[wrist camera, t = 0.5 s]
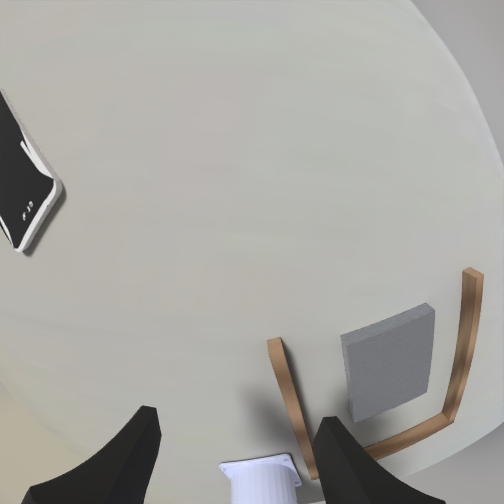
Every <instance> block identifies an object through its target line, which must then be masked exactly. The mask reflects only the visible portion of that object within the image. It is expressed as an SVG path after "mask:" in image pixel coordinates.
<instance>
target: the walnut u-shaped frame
mask: <svg viewBox="0 0 504 504" xmlns="http://www.w3.org/2000/svg"><path fill="white" fill-rule="evenodd" d="M483 279H484V274H482V273H480V272H478V271H476V270H474V269H472V268H470V267H469V268H467V269H465V270H463V285H462V303H461V315H460V324H459V333H458V340H457V347H456V353H455V359H454V364H453V369H452V374H451V379H450V383H449V388H448V392H447V396H446V400H445V403H444V407H443V411H442V413H440V414H438V415H436V416H434V417H433V418H431V419H429V420H427V421H425V422H423V423H421V424H419V425H417V426H415V427H413V428H411V429H409V430H407V431H404V432H402V433H400V434H398V435H396V436H393V437H391V438H389V439H386V440H384V441H381V442H379V443H376V444H374V445H371V446H368V447H366V448H363V449H364V450H365V451H366V452H367V453H368V454H369V455H370V456H371V457H372V458H373V459H374V460H375V461H376V460H379V459H381V458H384V457H386V456H389V455H391V454H393V453H396V452H398V451H400V450H402V449H404V448H407V447H409V446H411V445H413V444H415V443H417V442H419V441H421V440H423V439H425V438H427V437H429V436H431V435H433V434H434V433H436V432H438V431H440V430H442V429H443V428H445V427H447V426H448V425H450V424H452V423H453V422H454V420H455V417H456V414H457V411H458V408H459V405H460V402H461V399H462V396H463V392H464V389H465V385H466V382H467V378H468V374H469V370H470V366H471V362H472V358H473V353H474V348H475V343H476V338H477V332H478V326H479V319H480V311H481V303H482V293H483ZM267 344H268V352H269V357H270V360H271V363H272V366H273V369H274V372H275V375H276V378H277V381H278V384H279V387H280V390H281V393H282V396H283V399H284V402H285V405H286V408H287V411H288V414H289V417H290V420H291V423H292V426H293V429H294V431H295V434H296V437H297V440H298V443H299V446H300V449H301V452H302V454H303V457H304V460H305V463H306V466H307V469H308V471H309V474H310V477H311V480H316V479H320V478H319V475H318V471H317V467H316V463H315V457H314V453H313V449H312V446H311V442H310V439H309V435H308V432H307V428H306V425H305V421H304V418H303V414H302V411H301V407H300V404H299V401H298V397H297V394H296V390H295V387H294V383H293V380H292V376H291V373H290V369H289V366H288V362H287V359H286V356H285V352H284V349H283V345H282V342H281V338H280V337H279V338H275V339H271V340H267Z"/></svg>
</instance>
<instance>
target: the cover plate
mask: <svg viewBox="0 0 504 504" xmlns="http://www.w3.org/2000/svg"><path fill="white" fill-rule="evenodd" d="M434 322H435V310H434V309H433V308H432V307H431V306H429V305H428V304H427V303H424V304H421V305H419V306H417V307H414V308H412V309H410V310H407V311H405V312H402V313H400V314H398V315H395V316H393V317H390V318H387V319H385V320H382V321H380V322H377V323H374V324H372V325H369V326H366V327H363V328H361V329H358V330H355V331H352V332H349V333H346V334H343V335H341V342H342V349H343V356H344V363H345V371H346V379H347V388H348V397H349V407H350V414H351V416H352V419H353V421H354V423H356V422H359V421H362V420H365V419H367V418H370V417H373V416H375V415H378V414H380V413H383V412H385V411H387V410H390V409H392V408H394V407H397V406H399V405H401V404H404V403H406V402H408V401H410V400H412V399H414V398H416V397H418V396H420V395H422V394H424V393H426V392H427V387H428V381H429V374H430V367H431V359H432V349H433V338H434Z"/></svg>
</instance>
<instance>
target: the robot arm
mask: <svg viewBox="0 0 504 504" xmlns="http://www.w3.org/2000/svg"><path fill="white" fill-rule="evenodd" d="M160 441H161V430H160V425H159V420H158V415H157V410H156V408H154V407H149V406H141V407H140V408H139V410H138V411H137V412H136V413H135V415H134V416H133V417H132V418H131V419H130V421H129V422H128V423H127V424H126V425H125V426H124V427H123V428H122V429H121V430H120V431H119V433H118V434H117V435H116V436H115V437H114V438H113V439H112V440H111V441H110V442H108V443H107V444H106V445H105V446H104V447H103V448H102V449H101V450H100V451H98V452H97V453H96V454H95V455H93V456H92V457H91V458H89V459H88V460H87V461H85V462H84V463H82V464H80V465H79V466H77V467H76V468H74V469H72V470H71V471H69V472H67V473H65V474H63V475H61V476H59V477H56V478H54V479H52V480H49V481H46V482H44V483H40V484H37V485H34V486H31V487H30V488H29V490H28V491H27V493H26V495H25V497H24V499H23V501H22V503H21V504H143V503H144V498H145V494H146V490H147V487H148V484H149V480H150V477H151V474H152V471H153V468H154V465H155V462H156V459H157V456H158V451H159V446H160ZM313 449H314V457H315V463H316V467H317V471H318V475H319V478H320V482H321V485H322V489H323V493H324V496H325V501H326V504H446V503H445V501H443V500H440V499H437V498H435V497H432V496H429V495H426V494H424V493H422V492H420V491H418V490H416V489H414V488H412V487H410V486H409V485H407V484H405V483H404V482H402V481H400V480H399V479H397V478H396V477H394V476H393V475H392V474H390V473H389V472H388V471H386V470H385V469H384V468H383V467H382V466H380V465H379V464H378V463H377V462H376V461H375V460H374V459H373V458H372V457H371V456H370V455H369V454H368V453H367V452H366V451H365V450H364V449H363V448H362V447H361V445H360V444H359V443H358V442H357V441H356V440H355V439H354V437H353V436H352V435H351V434H350V433H349V431H348V430H347V429H346V428H345V426H344V425H343V424H342V423H341V421H340V420H339V419H338V417H337V416H333V417H323V419H322V422H321V424H320V427H319V429H318V432H317V434H316V437H315V439H314V442H313ZM219 467H220V469H221V470H222V471H223V472H224V473H225V475H226V476H227V477H228V478H229V479H230V480H231V504H297V497H296V491H295V487H299V486H301V485H302V482H301V480H300V477H299V475H298V473H297V471H296V468H295V466H294V464H293V461H292V459H291V456H290V455H289V454H281V455H276V456H270V457H265V458H259V459H252V460H245V461H237V462H229V463H221V464H220V465H219Z"/></svg>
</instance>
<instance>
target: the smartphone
mask: <svg viewBox="0 0 504 504" xmlns="http://www.w3.org/2000/svg"><path fill="white" fill-rule="evenodd" d="M61 193H62V181H61V179H60V178H59V176H58V175H57V174H56V172H55V171H54V169H53V168H52V167H51V165H50V164H49V162H48V161H47V159H46V158H45V157H44V155H43V154H42V152H41V151H40V149H39V148H38V146H37V145H36V143H35V142H34V140H33V138H32V137H31V135H30V134H29V132H28V131H27V129H26V127H25V126H24V124H23V123H22V121H21V119H20V118H19V116H18V114H17V112H16V111H15V109H14V107H13V106H12V104H11V102H10V100H9V98H8V97H7V95H6V93H5V91H4V89H3V88H0V226H1V228H2V230H3V231H4V233H5V235H6V236H7V238H8V240H9V241H10V243H11V244H12V246H13V247H14V249H15V250H16V251H18V252H21V251H23V250H25V249H27V248H28V247H29V246H30V244H31V242H32V240H33V238H34V237H35V235H36V233H37V231H38V230H39V228H40V226H41V225H42V223H43V221H44V220H45V218H46V216H47V215H48V213H49V212H50V210H51V209H52V207H53V205H54V204H55V202H56V201H57V199H58V198H59V196H60V195H61Z"/></svg>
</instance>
